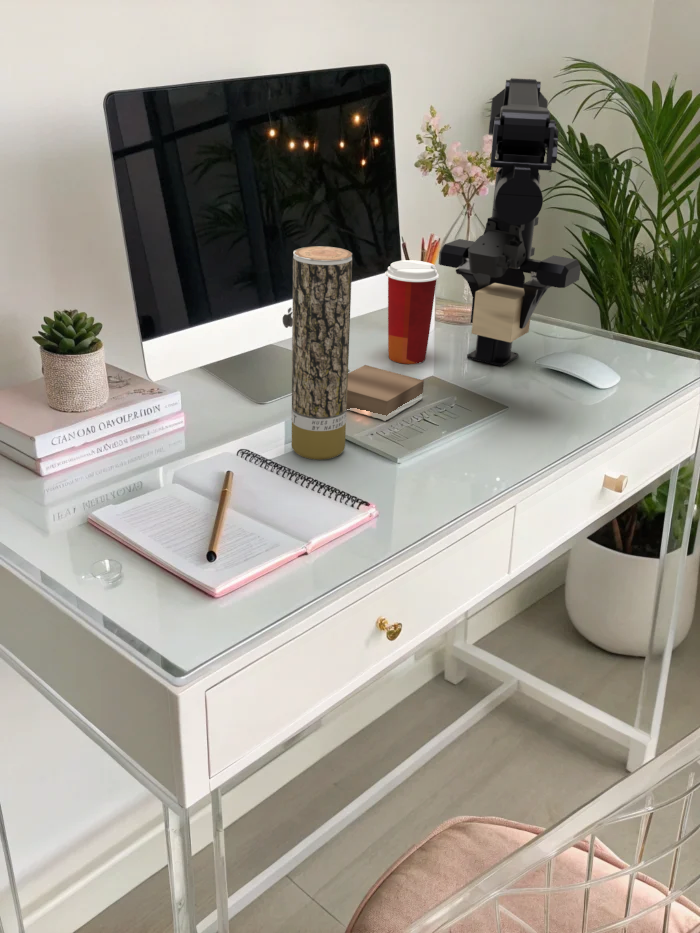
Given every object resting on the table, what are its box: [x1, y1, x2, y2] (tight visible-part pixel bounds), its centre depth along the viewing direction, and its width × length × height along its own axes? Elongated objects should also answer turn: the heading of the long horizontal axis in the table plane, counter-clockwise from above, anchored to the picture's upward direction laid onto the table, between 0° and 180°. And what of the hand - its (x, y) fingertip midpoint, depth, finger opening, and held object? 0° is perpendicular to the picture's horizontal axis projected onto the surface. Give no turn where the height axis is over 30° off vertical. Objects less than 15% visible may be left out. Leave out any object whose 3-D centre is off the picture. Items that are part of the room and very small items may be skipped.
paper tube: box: [291, 245, 353, 461], centre depth 111 cm, size 7×7×25 cm
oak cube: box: [471, 283, 531, 343], centre depth 128 cm, size 6×6×6 cm
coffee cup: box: [384, 259, 440, 365], centre depth 145 cm, size 8×8×15 cm
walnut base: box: [347, 364, 425, 416], centre depth 131 cm, size 10×10×3 cm
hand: (501, 323), depth 129 cm, fingers closed on oak cube, 6 cm apart
